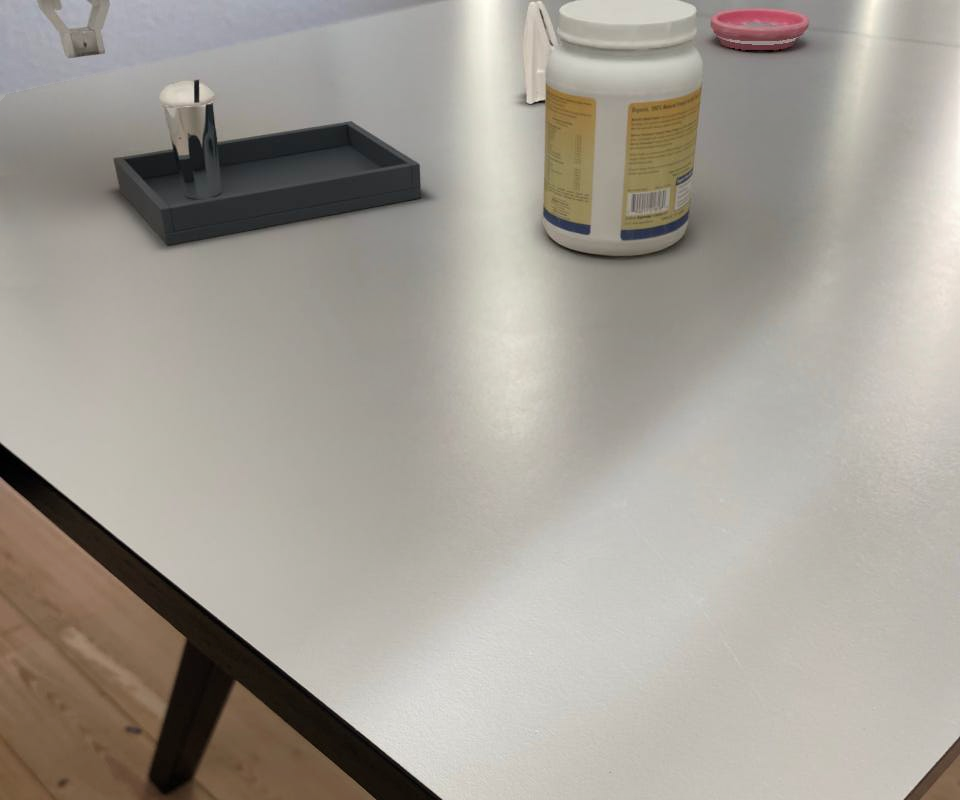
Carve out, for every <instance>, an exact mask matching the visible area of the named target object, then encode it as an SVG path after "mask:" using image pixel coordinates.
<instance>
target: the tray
mask: <svg viewBox="0 0 960 800" xmlns="http://www.w3.org/2000/svg"><path fill="white" fill-rule="evenodd" d="M217 143H218V155H219V167H220V179H221V192H220V194H219V195H217V196H214V197H211V198H206V199H194V198H188V197H187V196H186V195H185V194H184V191H183V187H182V183H181V179H180V175H179V171H178V167H177V163H176V159H175V155H174V151H173V148H171V149H165V150H158V151H152V152H144V153H140V154H131V155H126V156H120V157H119V156H118V157H114V158H112V159H113V164H114V168H115V173H116V178H117V183H118V187H119V192H120V193H121V194H122V195H123V196H124V197H125V198H126V200H127V201H128V202H129V203H130V204H131V205H132V207H133V208H134V209H135V210H136V211H137V212H138V213H139V214H140V216H141V217H142V218H143V219H144V220H145V221H146V223H147V224H148V225H149V226H150V228H151V229H153V230H154V232H155V233H156V234H157V235H158V236H159V237H160V239H161V240H162V241H163V242H164V243H165V244H166V245H167V246H172V245H178V244H182V243H188V242H189V243H190V242H192V241H193V242H194V241H199V240H204V239H205V240H206V239H209V238H216V237H219V236H226V235H230V234H236V233H241V232H246V231H252V230H258V229H263V228H268V227H274V226H279V225H284V224H290V223H294V222H300V221H306V220H311V219H316V218H321V217H327V216H332V215H337V214H342V213H348V212H354V211H359V210H364V209H370V208H375V207H381V206H385V205H392V204H396V203H402V202H407V201H412V200H417V199H421V198H422V190H421V187H422V186H421V164H420V163H419V162H417V161H415V160H414V159H412V158H411V157H409V156H408V155H406V154H404V153H403V152H402V151H399V150H398V149H396V148H394V147H393V146H392V145H390V144H388V143H387V142H386V141H384V140H382V139H380V138H379V137H378V136H376V135H374V134H373V133H370V131H368V130H366V129H365V128H363V127H362V126H360V125H358V124H357V123H355V122H353V121H352V120H349V121H343V122H337V123H336V122H335V123H331V124H324V125H319V126H312V127H305V128H299V129H291V130H286V131H279V132H274V133H266V134H261V135H254V136H247V137H241V138H235V139H228V140H222V141H217Z"/></svg>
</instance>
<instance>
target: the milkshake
mask: <svg viewBox="0 0 960 800" xmlns="http://www.w3.org/2000/svg"><path fill="white" fill-rule="evenodd" d="M215 99H216V98H215V93H214V92H213V90H212V89H210V87H208V86H207V85H206V84H204V83H202V82H200V79H199V78H197V79H196V78H195V79H194V80H181V81H177V82H175V83H169V84H167V85H166V86H164V88H163V89H162V90H161V92H160V94H159V101H160V105H161V109H162V112H163V115H164V120H165V123H166V127H167V131H168V134H169V139H170V143H171V147H172V149H173V151H174V155H175V159H176V163H177V167H178V171H179V175H180V179H181V183H182V187H183V191H184V194H185V195H186V196H187V197H188V198H194V199H206V198H211V197H214V196H217V195H219V194H220V192H221V179H220V167H219V155H218V143H217V142H218V135H217V134H218V133H217V118H216V117H217V116H216V100H215Z"/></svg>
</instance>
